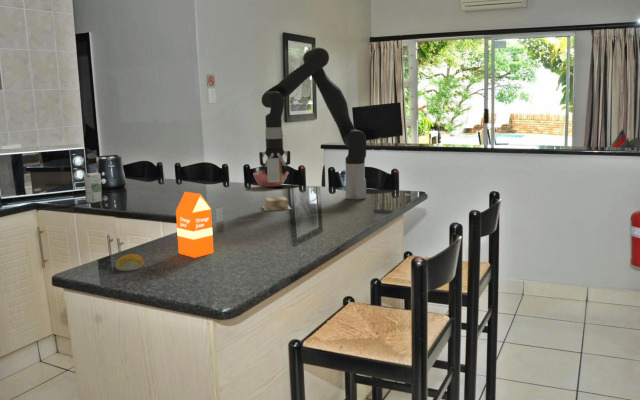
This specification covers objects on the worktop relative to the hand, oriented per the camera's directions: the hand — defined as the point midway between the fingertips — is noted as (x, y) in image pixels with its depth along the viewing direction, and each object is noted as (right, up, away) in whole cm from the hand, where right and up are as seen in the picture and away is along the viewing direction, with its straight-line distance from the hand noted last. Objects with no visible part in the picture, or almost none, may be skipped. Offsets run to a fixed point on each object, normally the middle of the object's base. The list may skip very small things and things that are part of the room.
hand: (275, 174), depth 261 cm
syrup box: (-93, -13, +32) cm, 99 cm away
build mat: (0, -15, +3) cm, 15 cm away
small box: (0, -3, +1) cm, 3 cm away
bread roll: (-38, -32, -83) cm, 97 cm away
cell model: (-7, -4, +68) cm, 68 cm away
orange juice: (-21, -29, -69) cm, 78 cm away
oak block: (0, -15, +3) cm, 15 cm away
